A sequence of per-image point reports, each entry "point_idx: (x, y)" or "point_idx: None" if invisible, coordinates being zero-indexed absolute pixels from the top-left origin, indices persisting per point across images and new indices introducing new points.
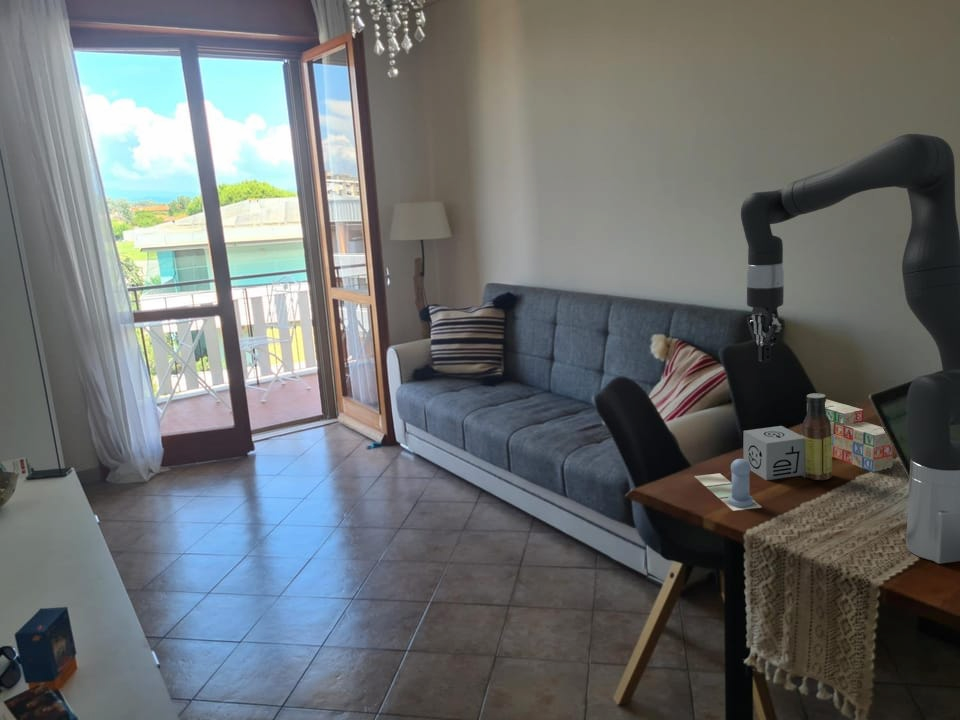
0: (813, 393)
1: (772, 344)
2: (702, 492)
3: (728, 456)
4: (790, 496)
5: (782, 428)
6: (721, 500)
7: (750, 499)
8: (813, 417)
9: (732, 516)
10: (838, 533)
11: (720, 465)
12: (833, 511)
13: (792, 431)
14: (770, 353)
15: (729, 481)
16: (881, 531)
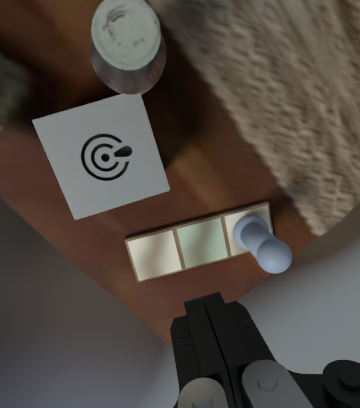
0: (95, 31)
1: (278, 364)
2: (189, 271)
3: (15, 208)
4: (217, 147)
5: (56, 124)
6: (237, 254)
7: (260, 221)
8: (150, 65)
9: None
10: (346, 120)
11: (68, 229)
12: (279, 99)
13: (83, 106)
14: (254, 326)
15: (165, 232)
16: (353, 56)
